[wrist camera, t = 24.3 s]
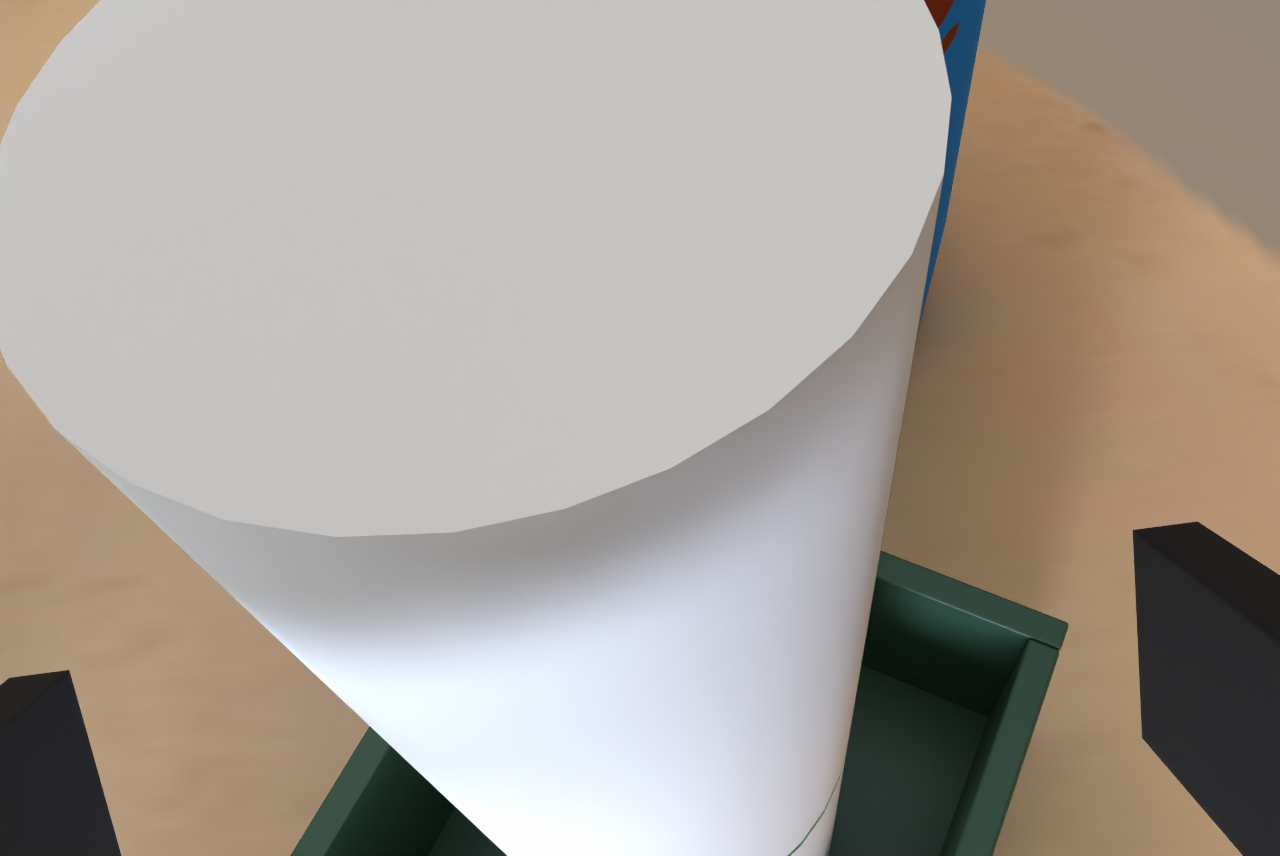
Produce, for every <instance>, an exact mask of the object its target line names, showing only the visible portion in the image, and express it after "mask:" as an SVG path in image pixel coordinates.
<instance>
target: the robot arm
mask: <svg viewBox="0 0 1280 856" xmlns="http://www.w3.org/2000/svg"><path fill="white" fill-rule="evenodd" d="M1133 544H1134V566H1135V588H1136V610H1137V632H1138V654H1139V676H1140V698H1141V720H1142V738H1143V739H1144V741H1145V742H1146V743H1147V744H1148V745H1149V746H1150V748H1151V749H1152V750H1153V751H1154V752H1155V753H1156V755H1157V756H1158V757H1159V758H1160V759H1161V760H1162V762H1163V763H1164V764H1165V765H1166V766H1167V767H1168V769H1169V770H1170V771H1171V772H1172V773H1173V774H1174V776H1175V777H1176V778H1177V779H1178V780H1179V781H1180V783H1181V784H1182V785H1183V786H1184V787H1185V788H1186V790H1187V791H1188V792H1189V793H1190V794H1191V795H1192V797H1193V798H1194V799H1195V800H1196V801H1197V802H1198V804H1199V805H1200V806H1201V807H1202V808H1203V809H1204V811H1205V812H1206V813H1207V814H1208V815H1209V816H1210V818H1211V819H1212V820H1213V821H1214V822H1215V823H1216V825H1217V826H1218V827H1219V828H1220V829H1221V830H1222V832H1223V833H1224V834H1225V835H1226V836H1227V837H1228V839H1229V840H1230V841H1231V842H1232V843H1233V844H1234V846H1235V847H1236V848H1237V849H1238V850H1239V851H1240V853H1241V854H1242V855H1243V856H1280V575H1278V574H1277V573H1275V572H1274V571H1272V570H1271V569H1269V568H1268V567H1266V566H1265V565H1263V564H1261V563H1260V562H1258V561H1257V560H1255V559H1254V558H1252V557H1251V556H1249V555H1248V554H1246V553H1245V552H1243V551H1242V550H1240V549H1239V548H1237V547H1236V546H1234V545H1232V544H1231V543H1229V542H1228V541H1226V540H1225V539H1223V538H1222V537H1220V536H1219V535H1217V534H1216V533H1214V532H1213V531H1211V530H1210V529H1208V528H1206V527H1205V526H1203V525H1202V524H1200V523H1199V522H1191V523H1183V524H1176V525H1168V526H1161V527H1153V528H1145V529H1138V530H1133ZM0 856H121V853H120V849H119V846H118V842H117V839H116V835H115V832H114V828H113V824H112V821H111V817H110V814H109V810H108V807H107V803H106V800H105V796H104V792H103V789H102V785H101V782H100V778H99V775H98V771H97V767H96V764H95V760H94V757H93V753H92V750H91V746H90V743H89V739H88V735H87V732H86V728H85V725H84V721H83V718H82V714H81V710H80V707H79V703H78V700H77V696H76V693H75V689H74V686H73V682H72V678H71V675H70V671H69V670H66V671H59V672H51V673H44V674H36V675H28V676H21V677H13V678H9V679H8V680H6V681H5V682H4V683H3V684H1V685H0Z"/></svg>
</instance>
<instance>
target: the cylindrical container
mask: <svg viewBox="0 0 1280 856" xmlns="http://www.w3.org/2000/svg"><path fill="white" fill-rule="evenodd" d="M951 99H952V96H951V91H950V86H949V81H948V76H947V70H946V65H945V60H944V55H943V49H942V44H941V39H940V34H939V30H938V28H937V26H936V24H935V22H934V20H933V17H932V15H931V13H930V11H929V9H928V7H927V5H926V3H925V1H924V0H100V1H99V2H98V3H97V4H96V5H95V6H94V7H93V8H92V9H91V10H90V11H89V13H88V14H87V15H86V16H85V17H84V18H83V19H82V20H81V21H80V22H79V23H78V24H77V25H76V26H75V27H74V28H73V29H72V30H71V31H70V32H69V33H68V34H67V35H66V36H65V37H64V38H63V40H62V41H61V42H60V43H59V44H58V46H57V47H56V48H55V50H54V51H53V53H52V54H51V56H50V57H49V59H48V60H47V62H46V63H45V65H44V66H43V68H42V69H41V70H40V72H39V73H38V75H37V76H36V78H35V79H34V81H33V82H32V84H31V85H30V87H29V88H28V90H27V91H26V92H25V94H24V95H23V97H22V98H21V100H20V101H19V103H18V104H17V106H16V109H15V111H14V113H13V116H12V118H11V120H10V123H9V125H8V127H7V130H6V132H5V134H4V137H3V139H2V141H1V144H0V350H1V353H2V355H3V358H4V361H5V364H6V365H7V367H8V368H9V369H10V371H11V372H12V373H13V375H14V376H15V377H16V378H17V380H18V381H19V382H20V384H21V385H22V386H23V388H24V389H25V390H26V392H27V393H28V394H29V396H30V397H31V398H32V400H33V401H34V402H35V404H36V405H37V406H38V408H39V409H40V410H41V412H42V413H43V414H44V416H45V417H46V418H47V420H48V421H49V422H50V424H51V425H52V426H53V428H54V429H55V430H57V431H58V432H59V433H60V434H61V435H62V436H63V437H64V438H65V439H66V440H67V441H68V442H69V443H70V444H71V445H72V446H73V447H75V448H76V449H77V450H78V451H79V452H80V453H81V454H82V455H83V456H84V457H85V458H86V459H87V460H88V461H89V462H90V463H92V464H93V465H94V466H95V467H96V468H97V469H98V470H99V471H100V472H101V473H102V474H103V475H104V476H105V477H106V478H107V479H108V480H110V481H111V482H112V483H113V484H114V485H115V486H116V487H117V488H118V489H119V490H120V491H121V492H122V493H123V494H124V495H125V496H126V497H128V498H129V499H130V500H131V501H132V502H133V503H134V504H135V505H136V506H137V507H138V508H139V509H140V510H141V511H142V512H143V513H145V514H146V515H147V516H148V517H149V518H150V519H151V520H152V521H153V522H154V523H155V524H156V525H157V526H158V527H159V528H160V529H161V530H163V531H164V532H165V533H166V534H167V535H168V536H169V537H170V538H171V539H172V540H173V541H174V542H175V543H176V544H177V545H178V546H180V547H181V548H182V549H183V550H184V551H185V552H186V553H187V554H188V555H189V556H190V557H191V558H192V559H193V560H194V561H195V562H196V563H198V564H199V565H200V566H201V567H202V568H203V569H204V570H205V571H206V572H207V573H208V574H209V575H210V576H211V577H212V578H213V579H214V580H216V581H217V582H218V583H219V584H220V585H221V586H222V587H223V588H224V589H225V590H226V591H227V592H228V593H229V594H230V595H231V596H233V597H234V598H235V599H236V600H237V601H238V602H239V603H240V604H241V605H242V606H243V607H244V608H245V609H246V610H247V611H248V612H249V613H251V614H252V615H253V616H254V617H255V618H256V619H257V620H258V621H259V622H260V623H261V624H262V625H263V626H264V627H265V628H266V629H268V630H269V631H270V632H271V633H272V634H273V635H274V636H275V637H276V638H277V639H278V640H279V641H280V642H281V643H282V644H283V645H284V646H286V647H287V648H288V649H289V650H290V651H291V652H292V653H293V654H294V655H295V656H296V657H297V658H298V659H299V660H300V661H301V662H303V663H304V664H305V665H306V666H307V667H308V668H309V669H310V670H311V671H312V672H313V673H314V674H315V675H316V676H317V677H318V678H319V679H321V680H322V681H323V682H324V683H325V684H326V685H327V686H328V687H329V688H330V689H331V690H332V691H333V692H334V693H335V694H336V695H337V696H339V697H340V698H341V699H342V700H343V701H344V702H345V703H346V704H347V705H348V706H349V707H350V708H351V709H352V710H353V711H354V712H356V713H357V714H358V715H359V716H360V717H361V718H362V719H363V720H364V721H365V722H366V723H367V724H368V725H369V726H370V727H371V728H372V729H374V730H375V731H376V732H377V733H378V734H379V735H380V736H381V737H382V738H383V739H384V740H385V741H386V742H387V743H388V744H389V745H391V746H392V747H393V748H394V749H395V750H396V751H397V752H398V753H399V754H400V755H401V756H402V757H403V758H404V759H405V760H406V761H407V762H409V763H410V764H411V765H412V766H413V767H414V768H415V769H416V770H417V771H418V772H419V773H420V774H421V775H422V776H423V777H424V778H425V779H427V780H428V781H429V782H430V783H431V784H432V785H433V786H434V787H435V788H436V789H437V790H438V791H439V792H440V793H441V794H442V795H444V796H445V797H446V798H447V799H448V800H449V801H450V802H451V803H452V804H453V805H454V806H455V807H456V808H457V809H458V810H459V811H460V812H462V813H463V814H464V815H465V816H466V817H467V818H468V819H469V820H470V821H471V822H472V823H473V824H474V825H475V826H476V827H477V828H479V829H480V830H481V831H482V832H483V833H484V834H485V835H486V836H487V837H488V838H489V839H490V840H491V841H492V842H493V843H494V844H495V845H497V846H498V847H499V848H500V849H501V850H502V851H503V852H504V853H505V854H506V855H507V856H829V851H830V845H831V840H832V834H833V828H834V822H835V816H836V810H837V804H838V799H839V793H840V787H841V781H842V775H843V769H844V763H845V757H846V752H847V746H848V739H849V734H850V728H851V722H852V716H853V710H854V704H855V698H856V692H857V686H858V680H859V675H860V669H861V663H862V657H863V651H864V645H865V639H866V633H867V627H868V621H869V615H870V609H871V603H872V597H873V592H874V586H875V580H876V574H877V568H878V562H879V556H880V550H881V544H882V538H883V532H884V526H885V520H886V514H887V509H888V503H889V497H890V491H891V485H892V479H893V473H894V467H895V461H896V455H897V449H898V443H899V437H900V431H901V426H902V420H903V414H904V408H905V402H906V396H907V390H908V384H909V378H910V372H911V366H912V360H913V354H914V348H915V342H916V337H917V331H918V325H919V319H920V313H921V307H922V301H923V295H924V289H925V283H926V277H927V271H928V265H929V259H930V254H931V248H932V242H933V236H934V230H935V224H936V218H937V212H938V206H939V200H940V194H941V188H942V182H943V176H944V168H945V158H946V148H947V138H948V129H949V119H950V109H951Z"/></svg>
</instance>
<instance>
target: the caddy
mask: <svg viewBox="0 0 1280 856" xmlns="http://www.w3.org/2000/svg"><path fill="white" fill-rule="evenodd" d="M1067 629H1068V623H1066V622H1064V621H1062V620H1059V619H1056V618H1054V617H1051V616H1049V615H1046V614H1043V613H1041V612H1038V611H1036V610H1033V609H1030V608H1028V607H1025V606H1023V605H1020V604H1017V603H1015V602H1012V601H1010V600H1007V599H1005V598H1002V597H999V596H997V595H994V594H992V593H989V592H986V591H984V590H981V589H979V588H976V587H973V586H971V585H968V584H966V583H963V582H960V581H958V580H955V579H953V578H950V577H947V576H945V575H942V574H940V573H937V572H934V571H932V570H929V569H927V568H924V567H922V566H919V565H916V564H914V563H911V562H909V561H906V560H903V559H901V558H898V557H896V556H893V555H890V554H888V553H885V552H883V551H880V556H879V562H878V568H877V574H876V580H875V586H874V592H873V597H872V603H871V609H870V615H869V621H868V627H867V633H866V639H865V645H864V651H863V657H862V663H861V669H860V675H859V680H858V686H857V692H856V698H855V704H854V710H853V716H852V722H851V728H850V734H849V739H848V746H847V752H846V757H845V763H844V769H843V775H842V781H841V787H840V793H839V799H838V804H837V810H836V816H835V822H834V828H833V834H832V840H831V845H830V851H829V856H992V855H993V852H994V849H995V846H996V843H997V840H998V837H999V834H1000V831H1001V828H1002V825H1003V822H1004V819H1005V816H1006V813H1007V810H1008V807H1009V804H1010V801H1011V798H1012V795H1013V792H1014V789H1015V786H1016V783H1017V780H1018V776H1019V773H1020V770H1021V767H1022V764H1023V761H1024V758H1025V755H1026V752H1027V749H1028V746H1029V743H1030V740H1031V737H1032V734H1033V731H1034V728H1035V725H1036V722H1037V719H1038V716H1039V713H1040V710H1041V707H1042V704H1043V701H1044V698H1045V695H1046V692H1047V689H1048V686H1049V683H1050V680H1051V677H1052V674H1053V671H1054V668H1055V665H1056V662H1057V659H1058V656H1059V651H1060V649H1061V647H1062V644H1063V641H1064V638H1065V635H1066V632H1067ZM291 856H507V855H506V854H505V853H504V852H503V851H502V850H501V849H500V848H499V847H498V846H497V845H495V844H494V843H493V842H492V841H491V840H490V839H489V838H488V837H487V836H486V835H485V834H484V833H483V832H482V831H481V830H480V829H479V828H477V827H476V826H475V825H474V824H473V823H472V822H471V821H470V820H469V819H468V818H467V817H466V816H465V815H464V814H463V813H462V812H460V811H459V810H458V809H457V808H456V807H455V806H454V805H453V804H452V803H451V802H450V801H449V800H448V799H447V798H446V797H445V796H444V795H442V794H441V793H440V792H439V791H438V790H437V789H436V788H435V787H434V786H433V785H432V784H431V783H430V782H429V781H428V780H427V779H425V778H424V777H423V776H422V775H421V774H420V773H419V772H418V771H417V770H416V769H415V768H414V767H413V766H412V765H411V764H410V763H409V762H407V761H406V760H405V759H404V758H403V757H402V756H401V755H400V754H399V753H398V752H397V751H396V750H395V749H394V748H393V747H392V746H391V745H389V744H388V743H387V742H386V741H385V740H384V739H383V738H382V737H381V736H380V735H379V734H378V733H377V732H376V731H375V730H374V729H372V728H371V727H369V728H368V730H367V732H366V733H365V735H364V736H363V738H362V740H361V741H360V743H359V745H358V746H357V748H356V750H355V751H354V753H353V754H352V756H351V758H350V759H349V761H348V763H347V764H346V766H345V768H344V769H343V771H342V772H341V774H340V776H339V777H338V779H337V781H336V782H335V784H334V785H333V787H332V789H331V790H330V792H329V794H328V795H327V797H326V799H325V800H324V802H323V803H322V805H321V807H320V808H319V810H318V812H317V813H316V815H315V817H314V818H313V820H312V821H311V823H310V825H309V826H308V828H307V830H306V831H305V833H304V835H303V836H302V838H301V839H300V841H299V843H298V844H297V846H296V848H295V849H294V851H293V853H292V854H291Z"/></svg>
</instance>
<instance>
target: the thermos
mask: <svg viewBox="0 0 1280 856" xmlns="http://www.w3.org/2000/svg"><path fill="white" fill-rule="evenodd" d="M924 1H925V3H926V5H927V7H928V9H929V11H930V13H931V15H932V17H933V20H934V22H935V24H936V26H937V28H938V30H939V34H940V39H941V44H942V49H943V55H944V60H945V65H946V70H947V76H948V81H949V86H950V91H951V96H952V99H951V109H950V119H949V129H948V138H947V148H946V158H945V168H944V176H943V182H942V188H941V194H940V200H939V206H938V212H937V218H936V224H935V230H934V236H933V242H932V248H931V254H930V259H929V265H928V271H927V277H926V283H925V289H924V295H923V301H922V307H921V313H920V319H921V315H922V311H923V307H924V304H925V300H926V296H927V293H928V289H929V285H930V281H931V278H932V274H933V270H934V266H935V262H936V258H937V254H938V250H939V246H940V242H941V238H942V234H943V230H944V226H945V222H946V217H947V211H948V206H949V200H950V195H951V189H952V184H953V178H954V173H955V167H956V162H957V156H958V151H959V145H960V140H961V134H962V129H963V123H964V118H965V112H966V107H967V101H968V96H969V90H970V85H971V79H972V74H973V68H974V63H975V57H976V52H977V46H978V41H979V35H980V30H981V24H982V18H983V13H984V8H985V2H986V0H924ZM920 319H919V322H920ZM918 326H919V325H918Z"/></svg>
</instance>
